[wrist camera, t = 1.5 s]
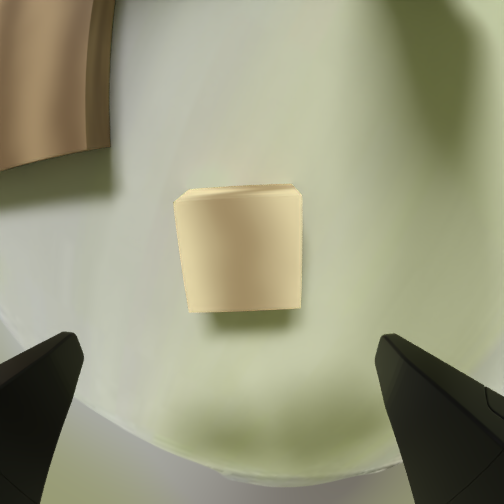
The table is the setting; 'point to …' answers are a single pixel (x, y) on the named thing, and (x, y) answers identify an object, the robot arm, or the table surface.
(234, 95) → the table surface
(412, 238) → the table surface
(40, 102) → the walnut base
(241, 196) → the maple block
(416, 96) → the table surface
